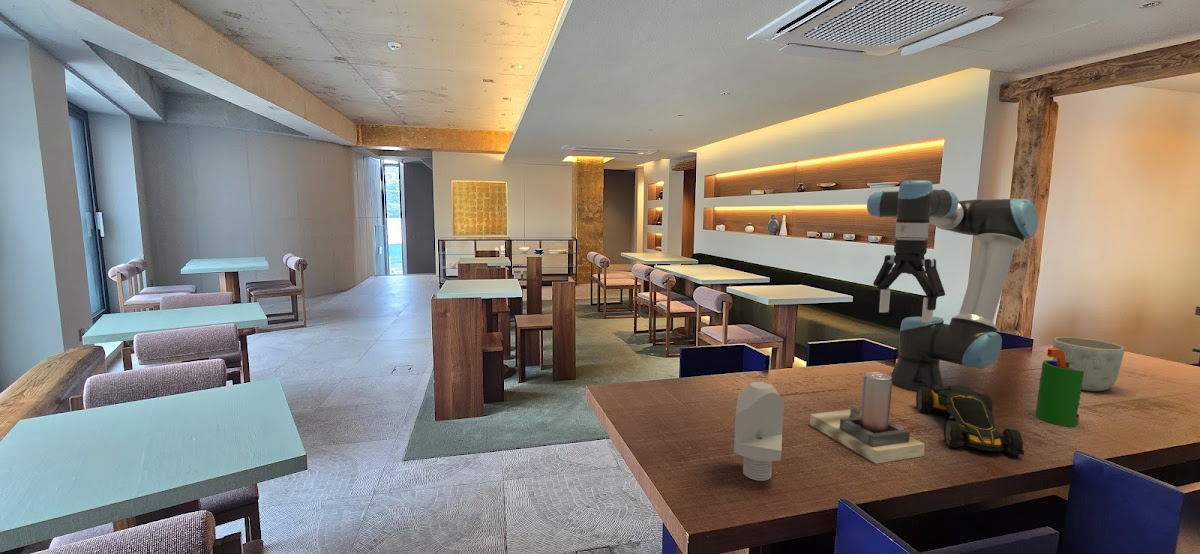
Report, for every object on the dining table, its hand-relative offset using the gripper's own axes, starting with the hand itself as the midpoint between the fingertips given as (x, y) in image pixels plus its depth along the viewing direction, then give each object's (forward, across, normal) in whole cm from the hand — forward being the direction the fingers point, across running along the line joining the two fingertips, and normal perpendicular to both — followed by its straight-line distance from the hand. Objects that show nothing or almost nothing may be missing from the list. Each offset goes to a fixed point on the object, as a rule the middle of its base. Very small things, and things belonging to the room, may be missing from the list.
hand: (904, 316), depth 136 cm
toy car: (+29, +12, +11) cm, 33 cm away
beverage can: (+26, +13, -21) cm, 36 cm away
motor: (+29, +13, +43) cm, 53 cm away
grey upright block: (+29, +17, -56) cm, 65 cm away
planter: (+29, -4, +83) cm, 88 cm away
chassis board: (+29, +9, -20) cm, 36 cm away
